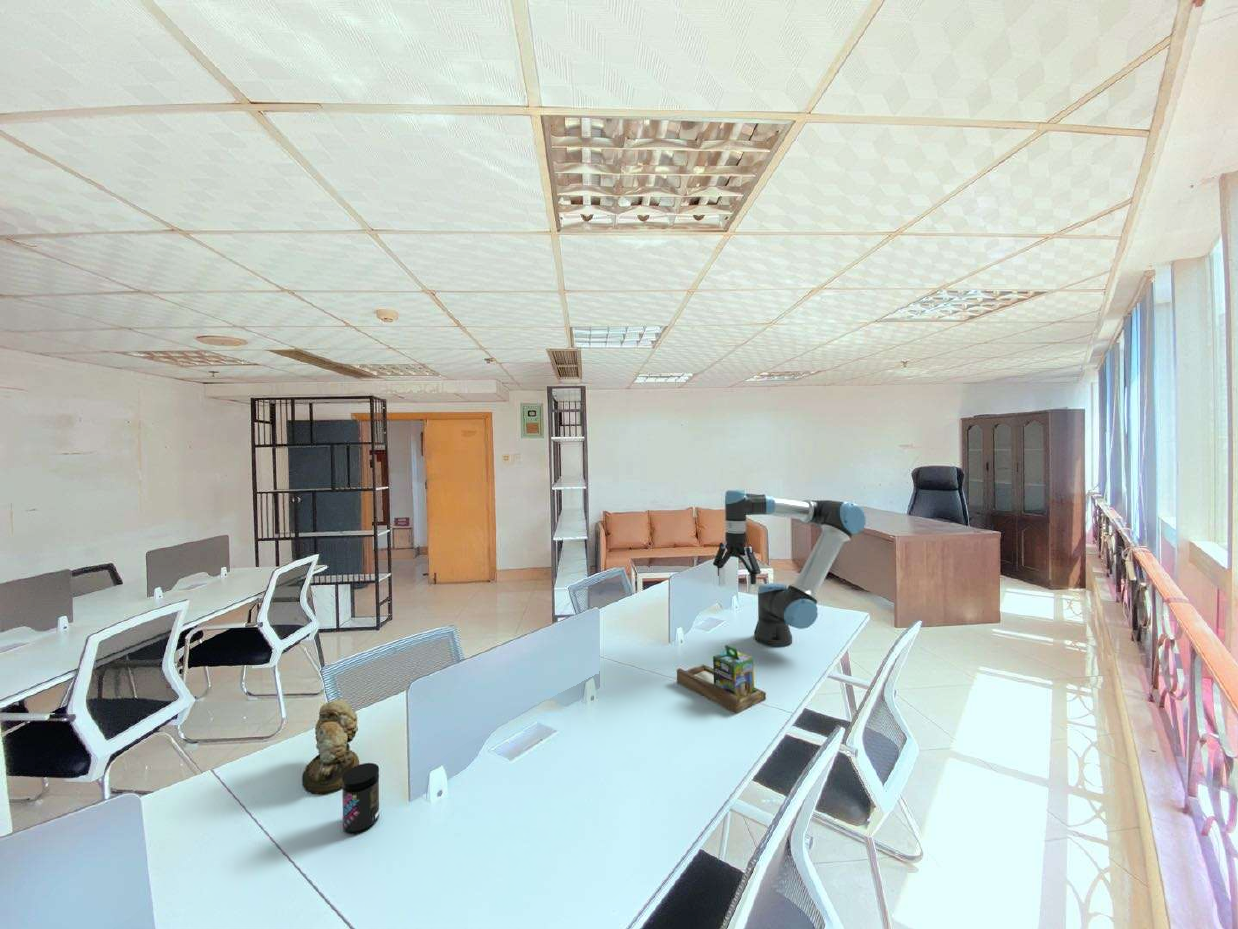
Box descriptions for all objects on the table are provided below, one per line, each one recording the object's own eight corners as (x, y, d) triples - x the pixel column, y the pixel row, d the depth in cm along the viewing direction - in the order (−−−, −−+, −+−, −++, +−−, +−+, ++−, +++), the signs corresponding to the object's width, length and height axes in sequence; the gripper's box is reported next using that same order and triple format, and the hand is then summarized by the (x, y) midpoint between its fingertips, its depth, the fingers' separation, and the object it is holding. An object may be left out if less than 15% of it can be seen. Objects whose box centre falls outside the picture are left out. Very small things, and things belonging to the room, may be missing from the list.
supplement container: (347, 815, 101) (346, 766, 101) (382, 808, 103) (381, 760, 103) (338, 839, 95) (337, 787, 94) (376, 831, 97) (375, 780, 96)
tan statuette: (300, 762, 119) (300, 694, 119) (353, 746, 126) (353, 681, 126) (303, 804, 105) (303, 725, 105) (364, 783, 111) (364, 709, 112)
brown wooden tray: (705, 671, 169) (705, 658, 169) (765, 699, 149) (765, 685, 149) (676, 682, 160) (676, 669, 160) (736, 714, 140) (736, 698, 140)
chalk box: (755, 695, 149) (754, 647, 149) (734, 703, 143) (734, 654, 143) (732, 683, 156) (732, 638, 156) (712, 691, 151) (712, 644, 151)
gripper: (703, 529, 185) (704, 583, 185) (757, 536, 165) (757, 598, 165) (716, 527, 190) (717, 580, 190) (770, 534, 170) (771, 594, 170)
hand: (736, 589), depth 178 cm, fingers open, 13 cm apart
